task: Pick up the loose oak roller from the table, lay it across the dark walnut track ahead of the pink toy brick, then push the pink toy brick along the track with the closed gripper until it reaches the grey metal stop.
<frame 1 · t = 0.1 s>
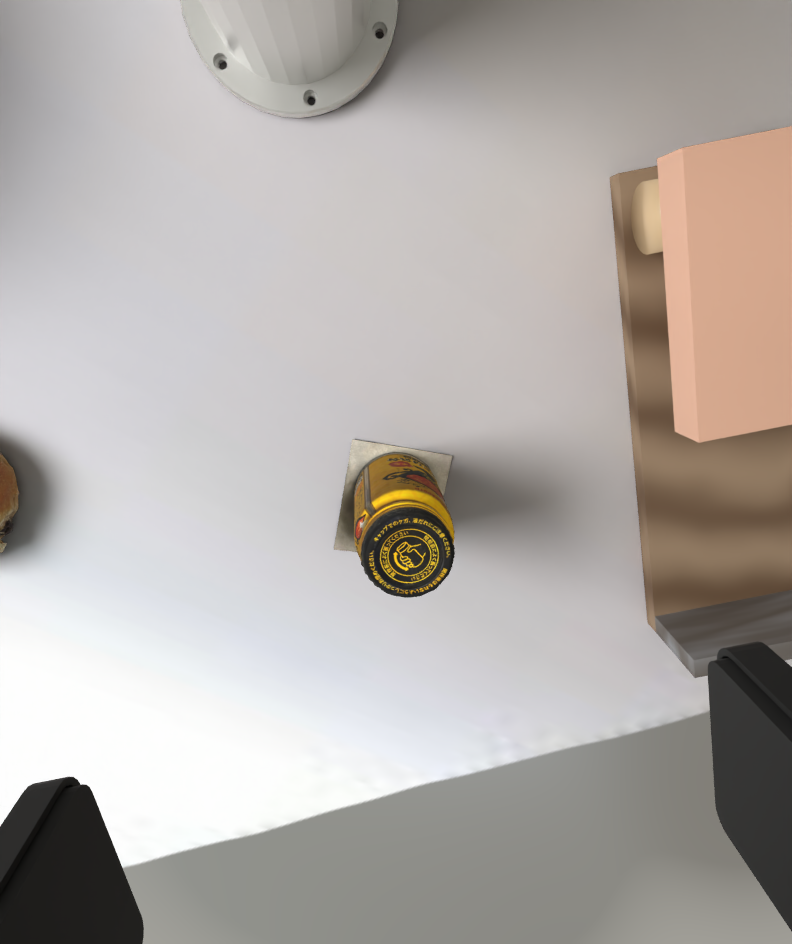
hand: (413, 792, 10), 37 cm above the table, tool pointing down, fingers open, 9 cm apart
track: (712, 406, 46), on the table
pink toy brick: (750, 285, 39), point 5 cm above the table, slide at 0.0 cm
condiment: (391, 501, 47), on the table
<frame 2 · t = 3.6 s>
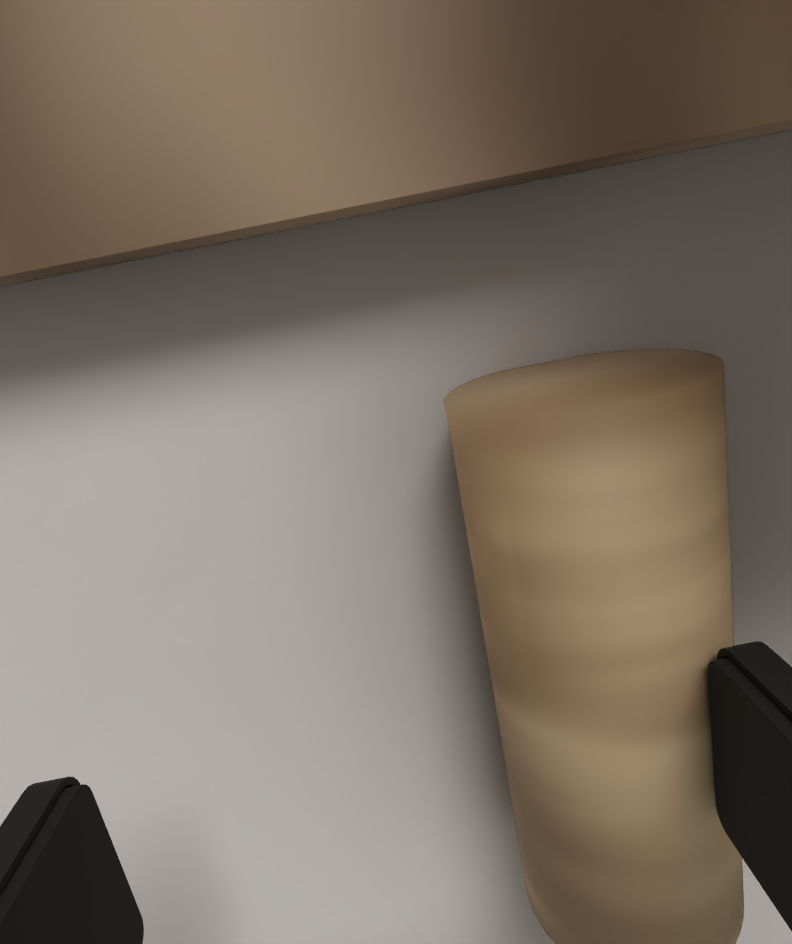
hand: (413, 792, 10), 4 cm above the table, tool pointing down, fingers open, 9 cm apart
roller: (497, 694, 11), point 2 cm above the table, tilted 100°
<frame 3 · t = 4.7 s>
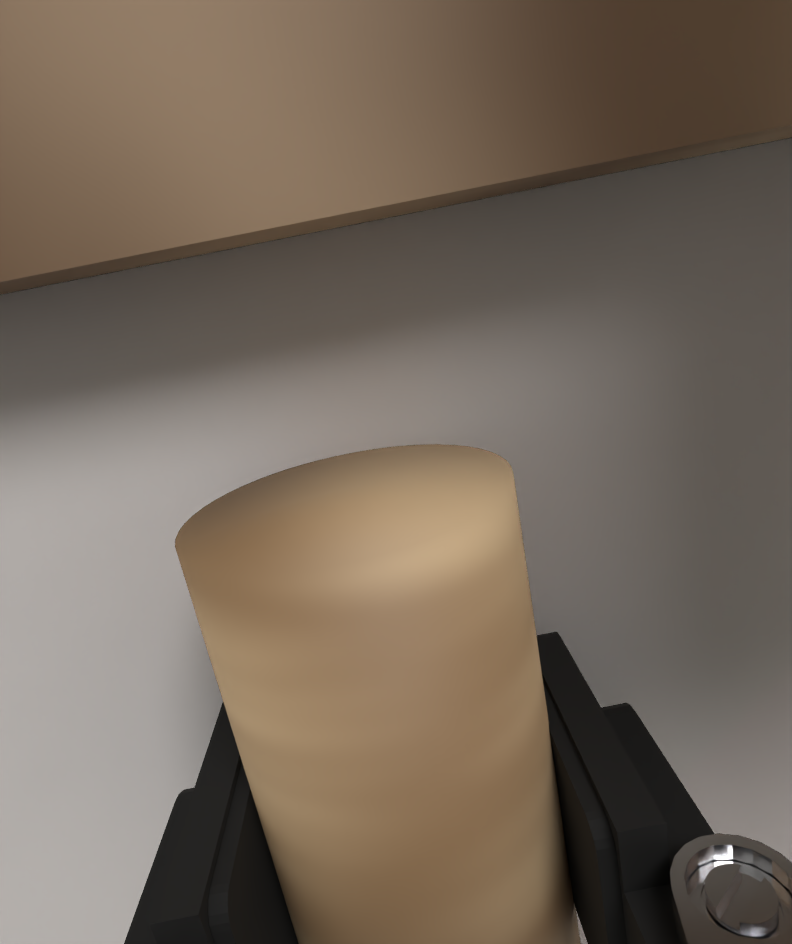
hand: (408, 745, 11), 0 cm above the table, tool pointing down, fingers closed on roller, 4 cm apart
roller: (371, 741, 11), on the table, tilted 19°, touching gripper
when the fingers open (3 cm above the table, at t = 9.9 s): roller stays where it is, resting on track.
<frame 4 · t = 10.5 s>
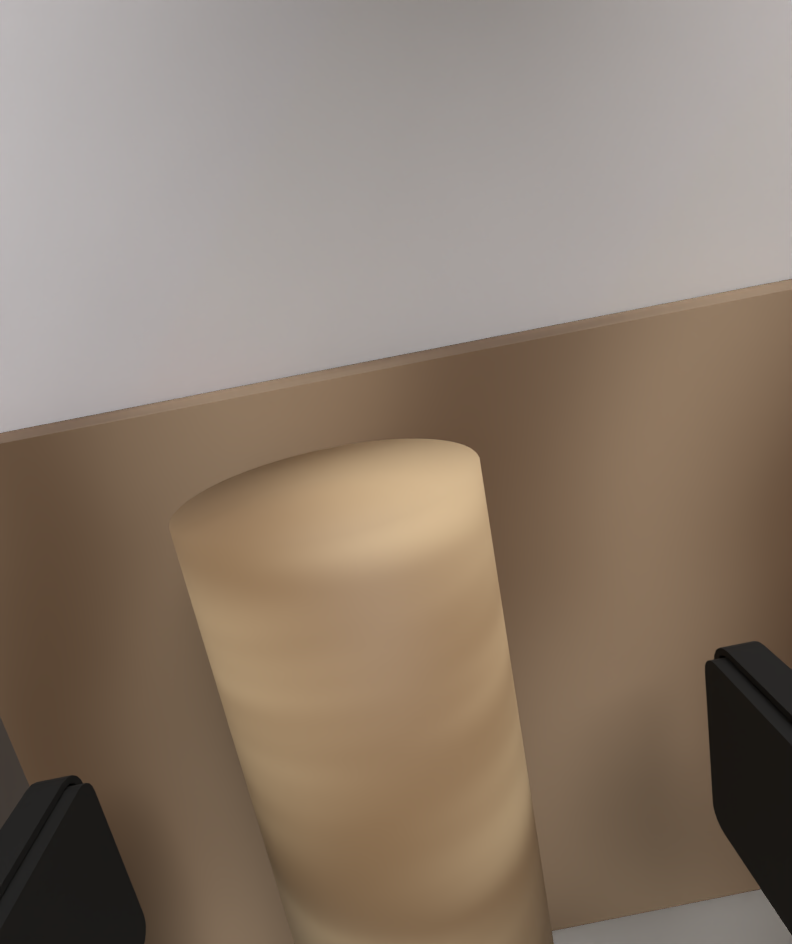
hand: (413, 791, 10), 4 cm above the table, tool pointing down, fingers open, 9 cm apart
roller: (356, 720, 12), point 2 cm above the table, tilted 18°, touching track
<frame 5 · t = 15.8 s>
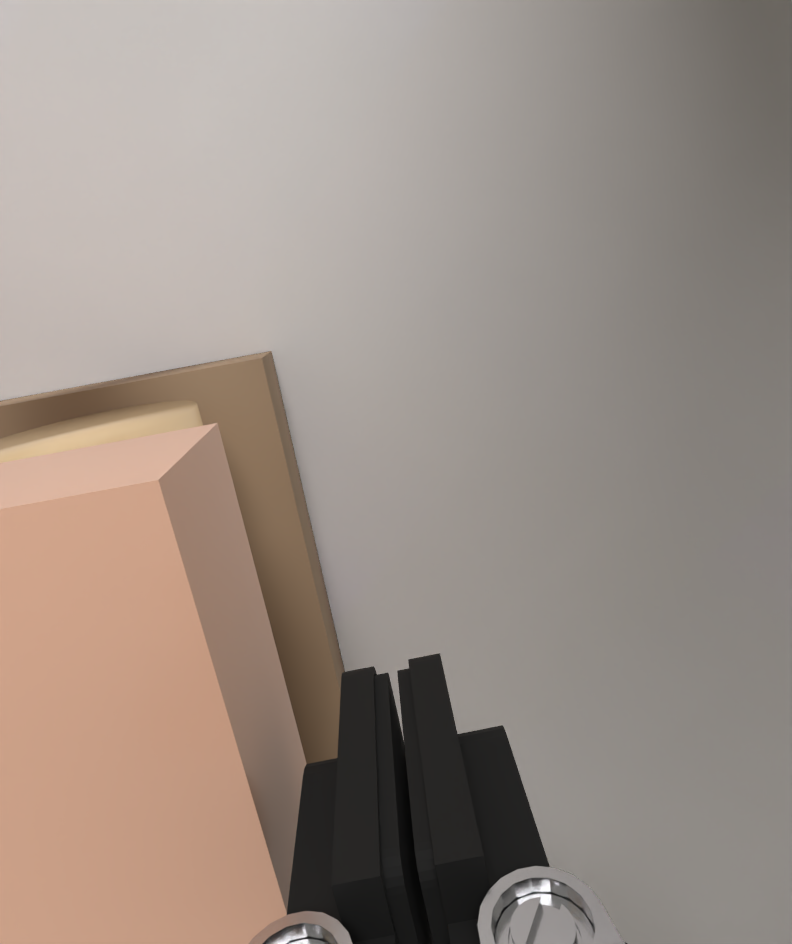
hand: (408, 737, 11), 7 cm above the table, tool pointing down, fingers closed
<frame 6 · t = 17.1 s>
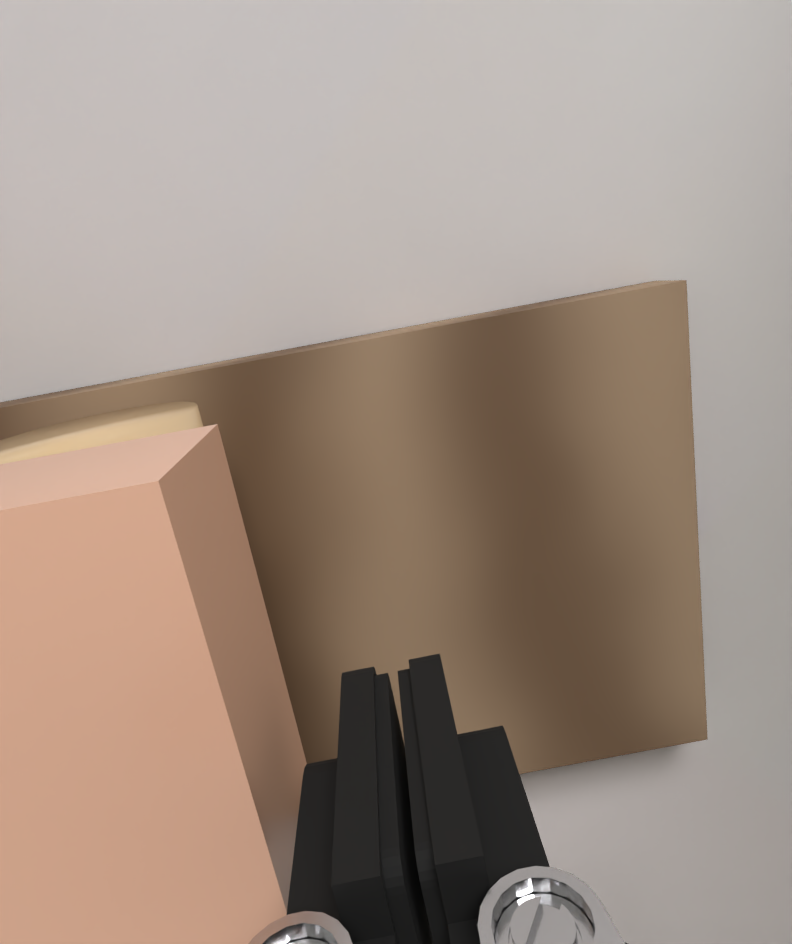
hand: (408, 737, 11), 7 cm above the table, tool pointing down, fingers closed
track: (56, 627, 17), on the table
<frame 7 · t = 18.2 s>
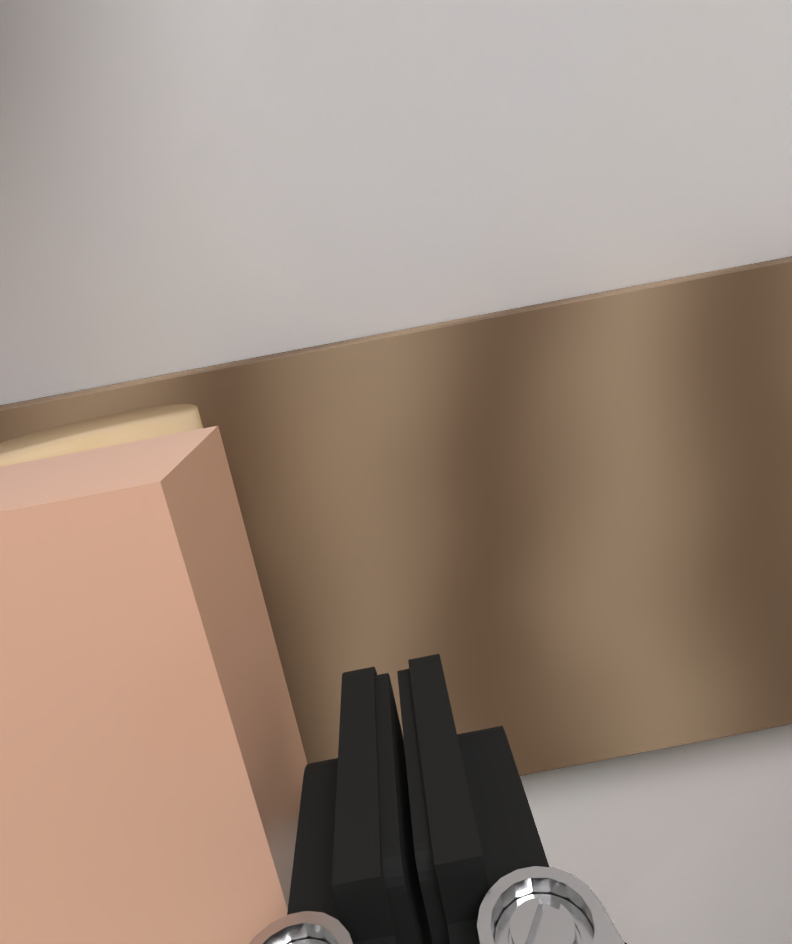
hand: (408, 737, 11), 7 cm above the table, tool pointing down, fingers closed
track: (264, 591, 17), on the table
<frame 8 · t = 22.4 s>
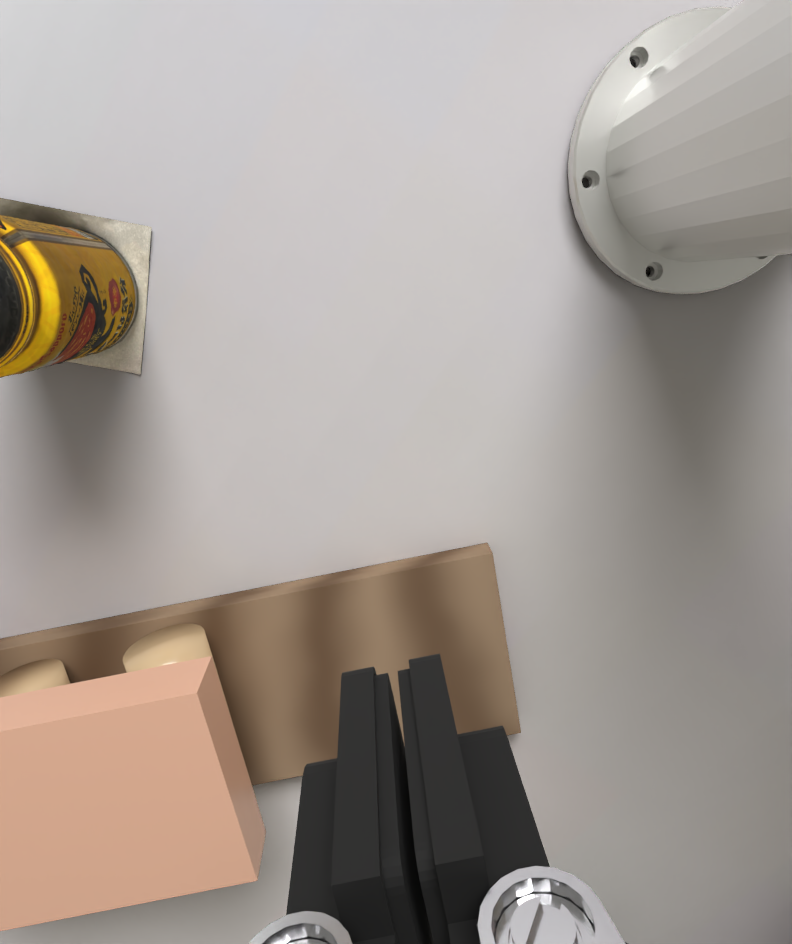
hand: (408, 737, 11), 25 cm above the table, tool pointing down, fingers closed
track: (233, 686, 39), on the table
roller: (75, 733, 37), point 2 cm above the table, tilted 9°, touching track
pink toy brick: (92, 769, 34), point 5 cm above the table, slide at 15.0 cm
condiment: (62, 287, 32), on the table
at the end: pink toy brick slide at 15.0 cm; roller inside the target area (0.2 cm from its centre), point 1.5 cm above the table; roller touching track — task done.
